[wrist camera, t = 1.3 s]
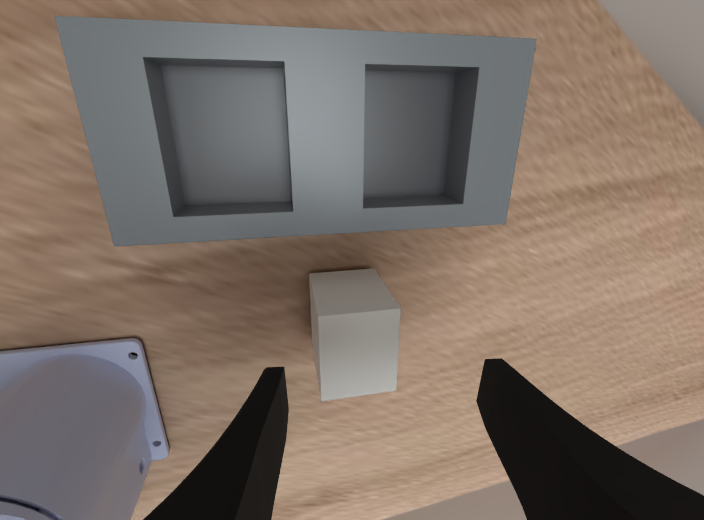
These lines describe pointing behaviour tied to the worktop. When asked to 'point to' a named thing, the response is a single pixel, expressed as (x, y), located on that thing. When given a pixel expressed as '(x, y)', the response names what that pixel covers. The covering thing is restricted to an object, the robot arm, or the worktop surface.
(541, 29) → the worktop surface
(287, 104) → the socket strip
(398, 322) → the plug
